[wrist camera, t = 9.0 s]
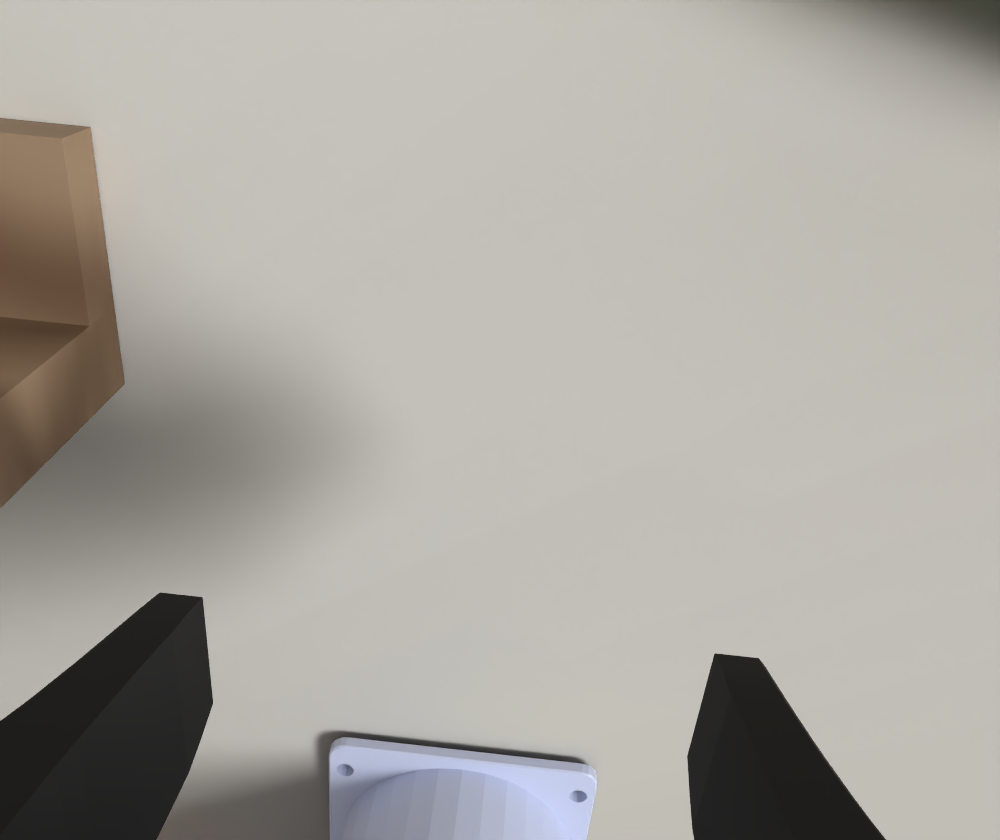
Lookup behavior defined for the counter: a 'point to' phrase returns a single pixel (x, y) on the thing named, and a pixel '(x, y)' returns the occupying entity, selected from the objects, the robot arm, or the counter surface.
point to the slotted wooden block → (51, 296)
